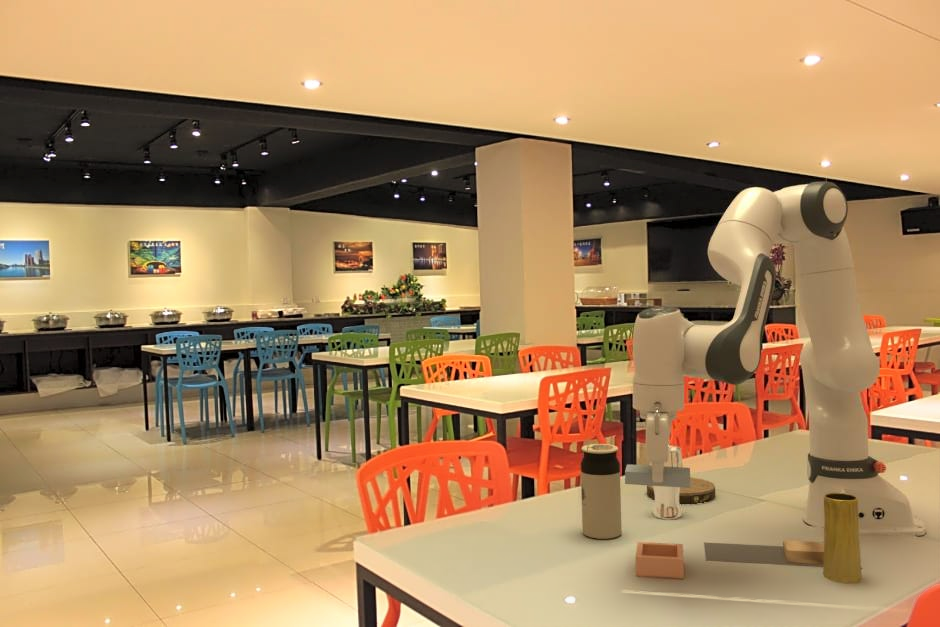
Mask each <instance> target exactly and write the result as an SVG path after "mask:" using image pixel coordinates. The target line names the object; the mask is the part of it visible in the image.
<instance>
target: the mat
mask: <svg viewBox="0 0 940 627" xmlns="http://www.w3.org/2000/svg"><path fill="white" fill-rule="evenodd" d="M703 547H704V555H705V556H704V557H705V561H708V562H709V561H711V562H724V563H742V564H743V563H744V564H757V565H758V564H760V565H761V564H762V565H763V564H764V565H777V566H778V565H781V566H795V567H797V566H798V567H813V568H815V567H816V568H823V564H806V563H788V562H787V560H786V558H785V556H784V553H783V545H782V546H780V545H765V544H764V545H763V544H762V545H760V544H757V545H756V544H746V543H745V544H742V543H726V542H725V543H723V542H722V543H721V542H707V541H706V542H705V541H704V542H703ZM861 570H863V567H861Z"/></svg>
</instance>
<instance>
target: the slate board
mask: <svg viewBox="0 0 940 627" xmlns="http://www.w3.org/2000/svg"><path fill="white" fill-rule="evenodd" d="M690 477H691V467H684V466H683V467H666V466H664V468H663V482H661V483H658V482H653V480H652V466H650V465H646V464H644V465H643V464H628V463H627V464H626V467H625V470H624V484H625V485H633V486H634V485H637V486H647V485H649V486H666V487H682V488H690Z"/></svg>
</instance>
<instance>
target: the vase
mask: <svg viewBox="0 0 940 627" xmlns="http://www.w3.org/2000/svg"><path fill="white" fill-rule="evenodd" d="M823 542H824V558H823V567H822V569H823V570H822V575H823V578H826V579H827V580H830V581H833V582H836V583H841V584H854V583H855V584H858V583H860V582H861V581H863V577H862V576H863V575H862V569H861V568H862V561H861V560H862V559H861V545H860V544H861V543H860V542H861V541H860V534H859V523H858V498H857V496H855V495H852V494H847V493H827V494H824V528H823Z"/></svg>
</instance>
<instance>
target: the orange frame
mask: <svg viewBox="0 0 940 627" xmlns="http://www.w3.org/2000/svg"><path fill="white" fill-rule="evenodd" d="M684 566H685V564H684V544H683V543H670V542H669V543H667V542H647V541H645V542H644V541H637V544H636V550H635V577H637V578H638V577H640V578H651V579H652V578H654V579H667V580H668V579H670V580H671V579H672V580H685V571H684V570H685V569H684Z"/></svg>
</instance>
